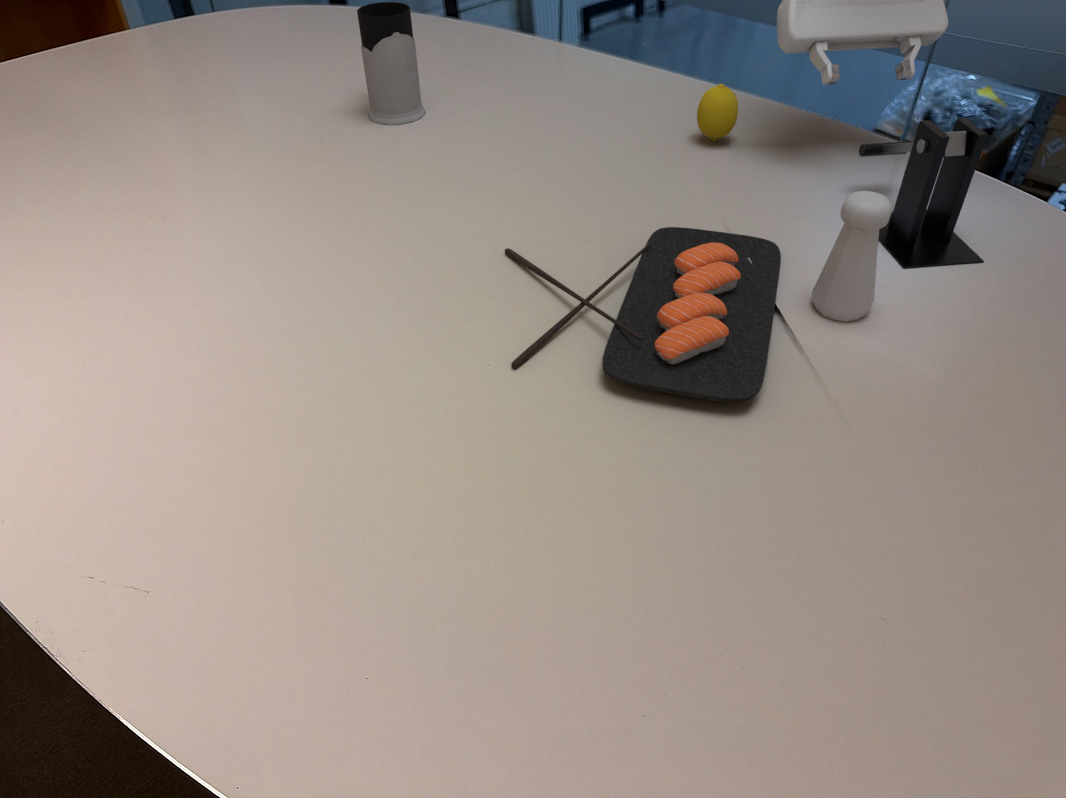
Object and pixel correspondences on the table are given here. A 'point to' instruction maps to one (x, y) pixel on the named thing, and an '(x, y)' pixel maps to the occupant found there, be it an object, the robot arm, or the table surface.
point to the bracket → (933, 200)
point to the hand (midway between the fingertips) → (868, 80)
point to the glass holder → (390, 63)
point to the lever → (892, 148)
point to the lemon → (717, 112)
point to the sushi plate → (688, 315)
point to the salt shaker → (853, 259)
